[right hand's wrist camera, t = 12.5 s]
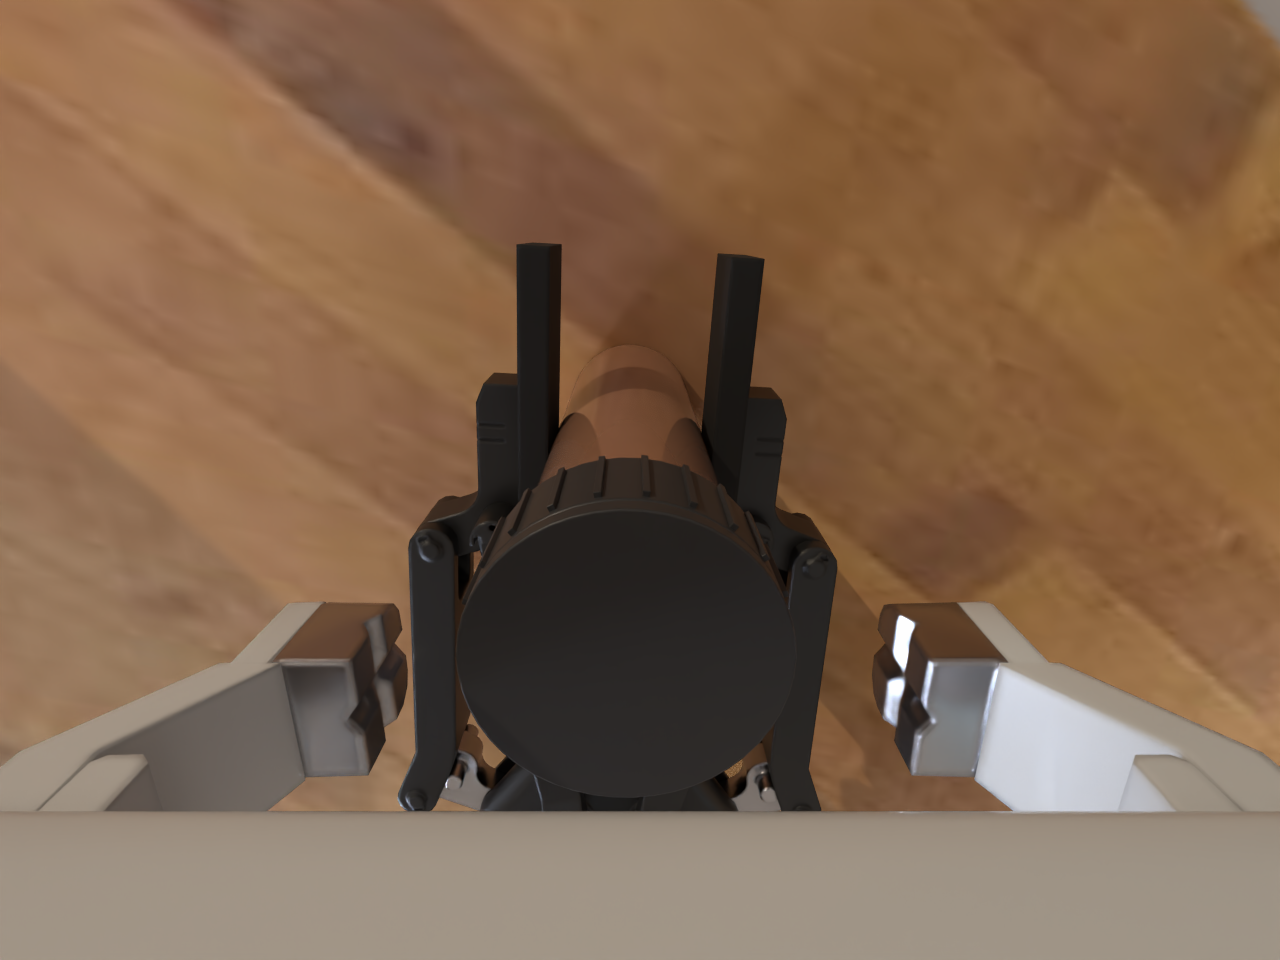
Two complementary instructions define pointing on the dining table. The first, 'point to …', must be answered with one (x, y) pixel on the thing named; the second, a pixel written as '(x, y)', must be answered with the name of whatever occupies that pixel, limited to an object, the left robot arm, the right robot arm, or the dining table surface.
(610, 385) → the brown tall cylinder
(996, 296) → the dining table surface
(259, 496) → the dining table surface
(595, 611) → the lid
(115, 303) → the dining table surface
